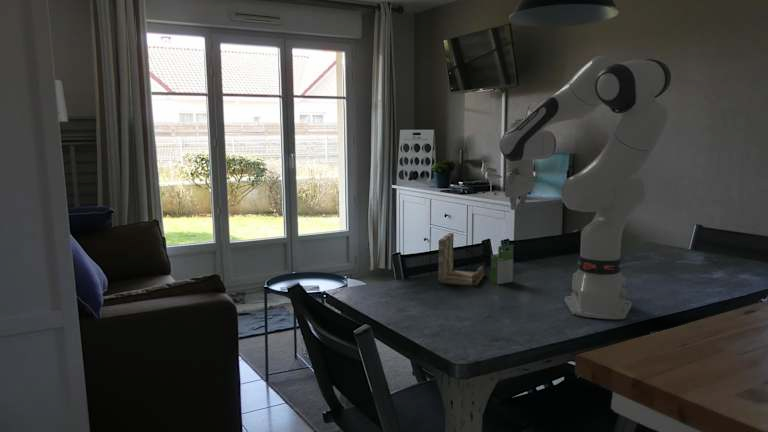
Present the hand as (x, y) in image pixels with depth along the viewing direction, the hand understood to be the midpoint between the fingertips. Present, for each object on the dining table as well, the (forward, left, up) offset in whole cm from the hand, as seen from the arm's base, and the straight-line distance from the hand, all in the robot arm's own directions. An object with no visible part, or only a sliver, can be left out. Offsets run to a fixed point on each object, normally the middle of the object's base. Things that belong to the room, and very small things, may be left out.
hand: (518, 207), depth 193 cm
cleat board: (-3, +19, -26) cm, 32 cm away
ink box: (-3, +5, -26) cm, 27 cm away
